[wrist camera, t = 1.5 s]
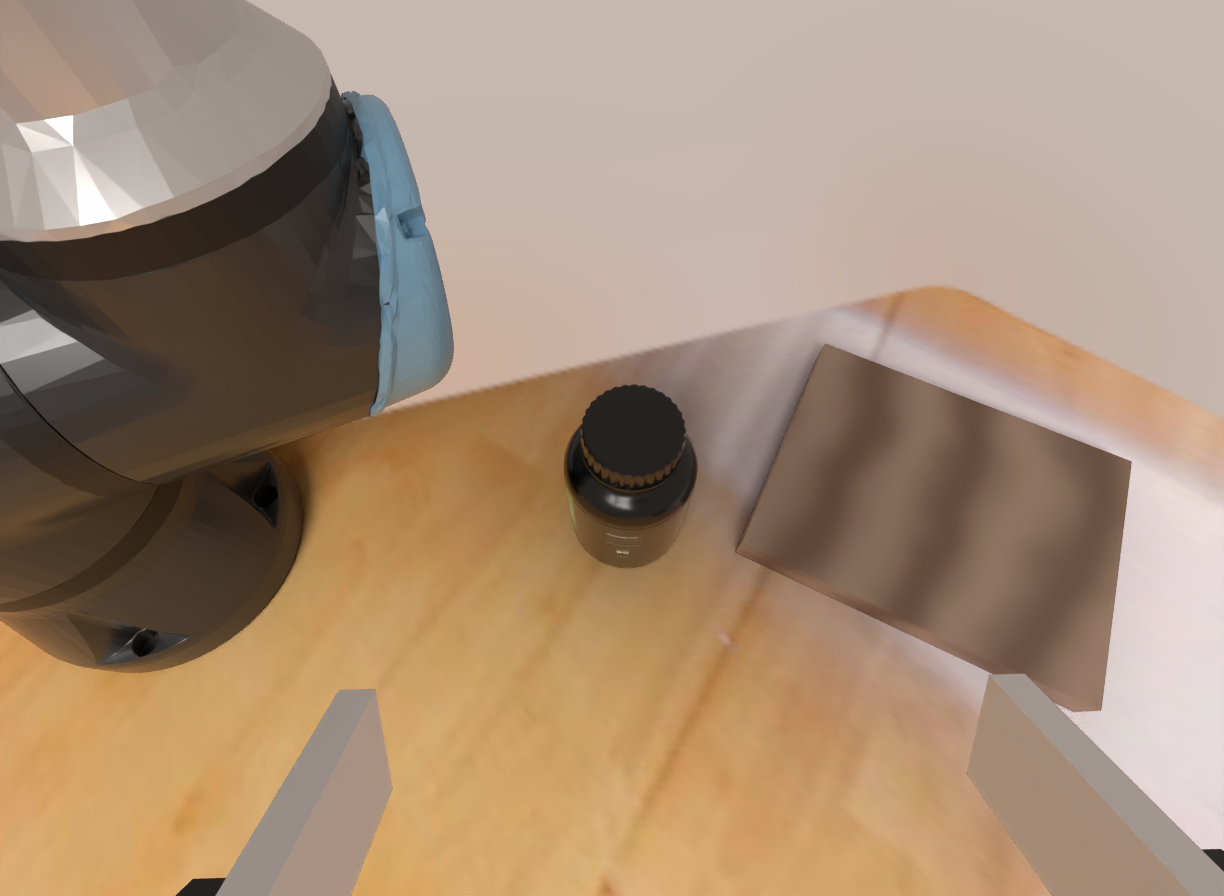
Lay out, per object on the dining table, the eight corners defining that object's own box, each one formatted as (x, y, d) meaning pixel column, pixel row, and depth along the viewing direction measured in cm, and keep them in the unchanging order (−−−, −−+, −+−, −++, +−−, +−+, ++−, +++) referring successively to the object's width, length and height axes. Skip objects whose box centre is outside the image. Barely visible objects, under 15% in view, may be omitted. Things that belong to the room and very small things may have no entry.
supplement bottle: (556, 550, 36) (534, 471, 25) (593, 455, 39) (587, 349, 28) (662, 586, 35) (686, 519, 25) (692, 486, 38) (725, 388, 27)
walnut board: (735, 552, 36) (741, 542, 34) (815, 360, 43) (825, 343, 41) (1073, 711, 32) (1101, 710, 31) (1107, 474, 39) (1131, 461, 37)
